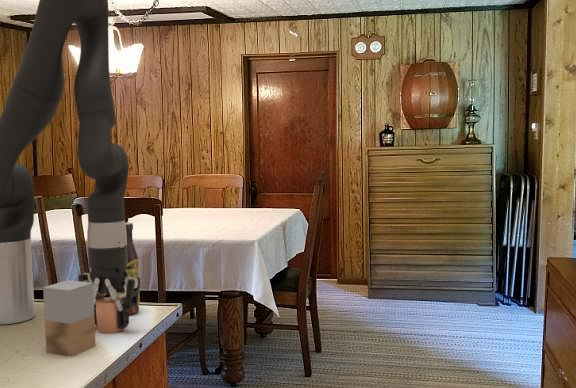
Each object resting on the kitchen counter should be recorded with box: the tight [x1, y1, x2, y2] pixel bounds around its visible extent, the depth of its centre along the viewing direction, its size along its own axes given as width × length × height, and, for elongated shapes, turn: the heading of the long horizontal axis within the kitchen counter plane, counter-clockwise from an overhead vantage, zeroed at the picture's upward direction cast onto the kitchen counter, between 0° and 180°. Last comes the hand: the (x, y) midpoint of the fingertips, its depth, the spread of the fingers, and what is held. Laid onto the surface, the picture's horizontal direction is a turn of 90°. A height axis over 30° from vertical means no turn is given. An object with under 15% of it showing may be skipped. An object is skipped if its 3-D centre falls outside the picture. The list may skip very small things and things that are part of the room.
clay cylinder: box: [96, 296, 124, 334], centre depth 121 cm, size 5×5×6 cm
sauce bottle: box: [109, 222, 141, 315], centre depth 132 cm, size 7×6×20 cm
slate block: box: [42, 279, 94, 324], centre depth 109 cm, size 6×6×6 cm
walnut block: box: [44, 315, 97, 358], centre depth 110 cm, size 6×6×6 cm
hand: (110, 325), depth 121 cm, fingers open, 5 cm apart
